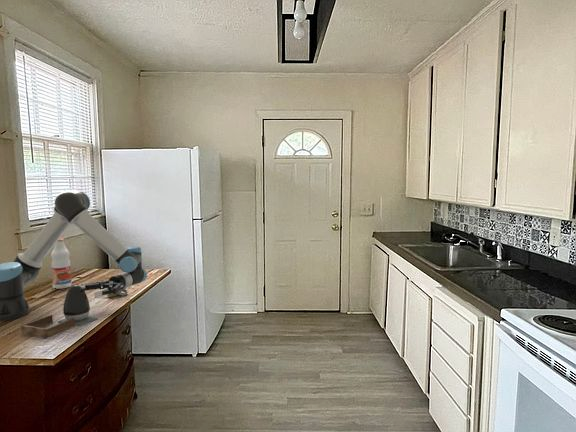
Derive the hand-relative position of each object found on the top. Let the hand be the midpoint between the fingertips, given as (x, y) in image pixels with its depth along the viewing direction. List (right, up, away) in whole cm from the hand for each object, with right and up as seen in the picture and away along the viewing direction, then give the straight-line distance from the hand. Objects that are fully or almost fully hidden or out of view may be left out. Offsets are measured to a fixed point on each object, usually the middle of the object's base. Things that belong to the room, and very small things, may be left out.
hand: (83, 293), depth 166 cm
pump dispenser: (-2, -11, -2) cm, 11 cm away
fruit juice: (-41, -7, +52) cm, 66 cm away
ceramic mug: (-1, -8, +36) cm, 37 cm away
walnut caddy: (-7, -12, -12) cm, 19 cm away
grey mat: (-2, -11, -2) cm, 12 cm away
